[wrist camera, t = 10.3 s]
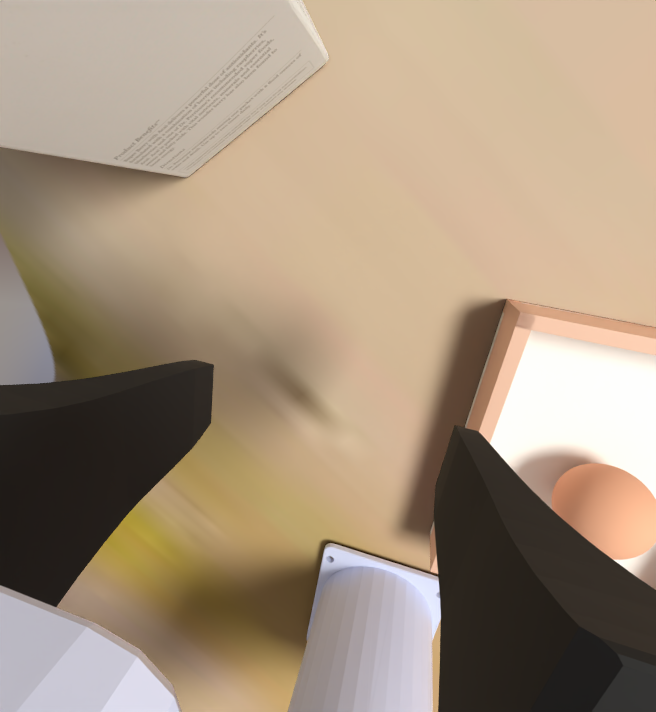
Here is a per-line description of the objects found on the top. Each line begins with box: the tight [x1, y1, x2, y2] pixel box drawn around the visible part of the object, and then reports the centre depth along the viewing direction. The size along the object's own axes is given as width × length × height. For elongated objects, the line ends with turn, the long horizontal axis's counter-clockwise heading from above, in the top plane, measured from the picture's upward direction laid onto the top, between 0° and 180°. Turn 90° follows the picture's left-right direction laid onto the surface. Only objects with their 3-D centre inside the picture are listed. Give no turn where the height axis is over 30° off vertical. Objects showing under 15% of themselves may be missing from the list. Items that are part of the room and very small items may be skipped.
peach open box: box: [430, 299, 656, 590], centre depth 18 cm, size 14×12×3 cm
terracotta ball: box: [552, 463, 656, 560], centre depth 17 cm, size 4×4×4 cm
